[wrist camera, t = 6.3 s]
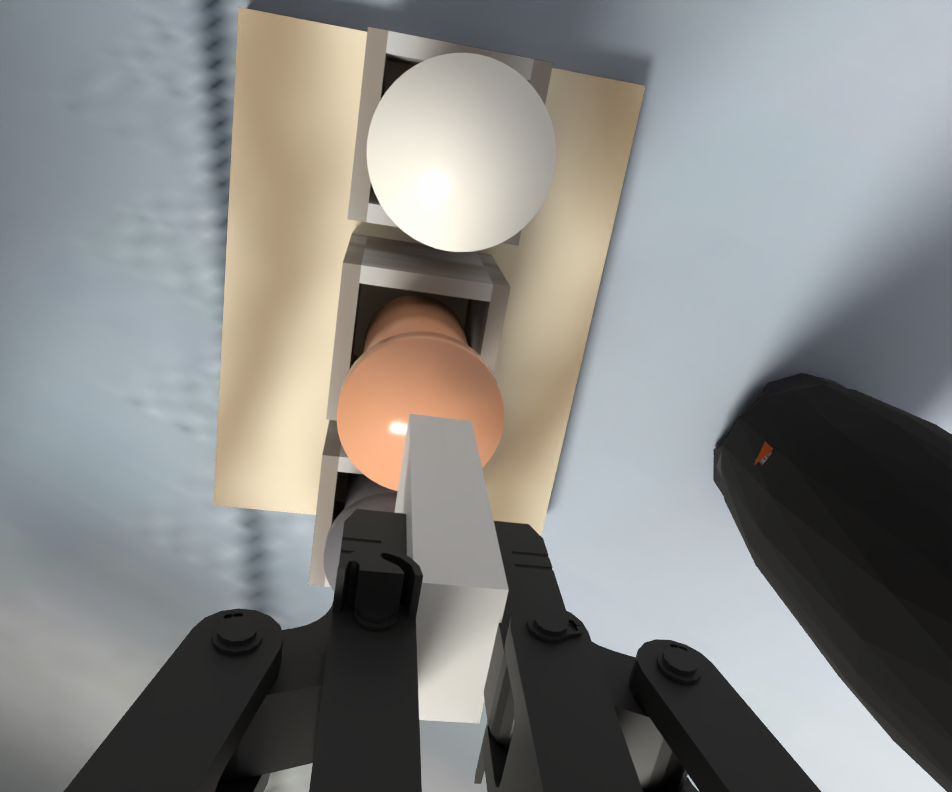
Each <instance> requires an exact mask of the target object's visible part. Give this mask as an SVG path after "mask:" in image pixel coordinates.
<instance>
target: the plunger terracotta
mask: <svg viewBox="0 0 952 792" xmlns="http://www.w3.org/2000/svg"><path fill="white" fill-rule="evenodd" d="M409 414H416V415H425V416H433V417H442V418H450V419H458V420H467V421H472V424H473V428H474V433H475V438H476V442H477V447H478V451H479V456H480V461H481V465H482V468H483V467H484V466H485V465H486V463H487V462H488V461H489V460H490V458H491V457H492V455H493V454H494V452H495V450H496V449H497V446H498V444H499V442H500V439H501V436H502V432H503V427H504V405H503V399H502V396H501V393H500V390H499V387H498V384H497V381H496V379H495V377H494V374H493V372H492V370H491V369H490V367H489V366H488V364H487V363H486V362H485V361H484V359H483V358H482V357H481V356H480V355H479V354H478V353H477V352H476V351H475V350H473V349H472V348H471V347H469V346H468V343H467V340H466V336H465V333H464V329H463V326H462V324H461V322H460V320H459V318H458V317H457V315H456V314H455V313H454V312H453V311H452V309H450V308H449V307H448V306H447V305H445V304H444V303H443V302H441V301H439V300H437V299H435V298H432V297H428V296H424V295H407V296H402V297H399V298H396V299H394V300H392V301H390V302H388V303H386V304H385V305H384V306H382V307H381V308H380V309H379V310H378V311H377V312H376V313H375V315H374V316H373V317H372V319H371V321H370V323H369V325H368V328H367V331H366V335H365V342H364V350H363V354H362V355H361V356H360V357H359V358H358V359H357V360H356V361H355V363H354V364H353V365H352V367H351V368H350V370H349V371H348V373H347V375H346V377H345V379H344V382H343V385H342V388H341V392H340V397H339V402H338V408H337V429H338V434H339V438H340V441H341V444H342V446H343V449H344V451H345V452H346V454H347V456H348V457H349V459H350V460H351V462H352V463H353V464H354V465H355V467H356V468H357V469H358V470H360V471H361V472H362V473H363V474H364V475H365V476H367V477H368V478H369V479H371V480H372V481H374V482H376V483H377V484H379V485H381V486H384V487H386V488H389V489H392V490H395V491H398V485H399V479H400V472H401V465H402V459H403V452H404V445H405V438H406V432H407V425H408V418H409Z"/></svg>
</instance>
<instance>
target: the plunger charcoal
mask: <svg viewBox="0 0 952 792" xmlns="http://www.w3.org/2000/svg"><path fill="white" fill-rule="evenodd" d="M397 492H398V491H395V490H392V489H389V488H386V487H384V486H381V485H379V484H377V483H376V482H374V481H372V480H371V479H369V478H368V477H367V476H365V475H364V474H356V473H349V475H348V483H347V491H346V499H345V507H344V510H343V511H342V512H341V513H340V514H339V515H338V516H337V518H336V519H335V520H334V522H333V523H332V525H331V527H330V529H329V532H328V535H327V539H326V544H325V551H324V561H323V564H324V571H325V575H326V578H327V580H328V582H329V584H330V586H331V588H332V589H333V591H334V592H335V585H336V577H337V568H338V566H339V559H340V551H341V543H342V536H343V528H344V521H345V520H346V519H347V518H348V517H349V516H350V515H351V514H352V513H353V512H354V511H355V510H356V509H364V510H374V511H384V512H395V505H396V499H397Z"/></svg>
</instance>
